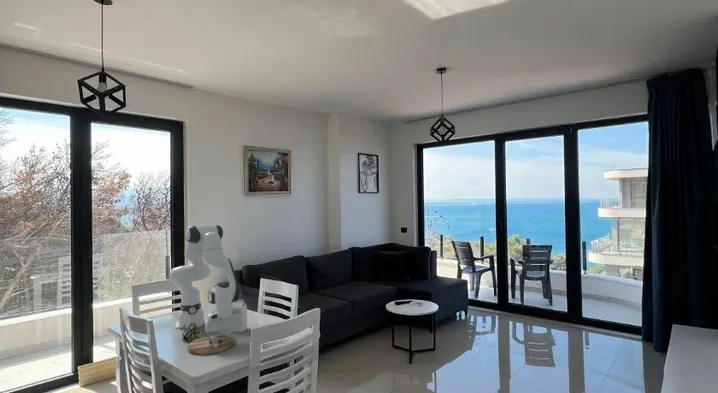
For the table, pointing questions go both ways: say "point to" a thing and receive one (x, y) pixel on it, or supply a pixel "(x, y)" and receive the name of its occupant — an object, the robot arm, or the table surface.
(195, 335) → the passion flower
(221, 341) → the pot lid
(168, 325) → the table surface
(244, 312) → the milk carton
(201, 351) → the turntable
